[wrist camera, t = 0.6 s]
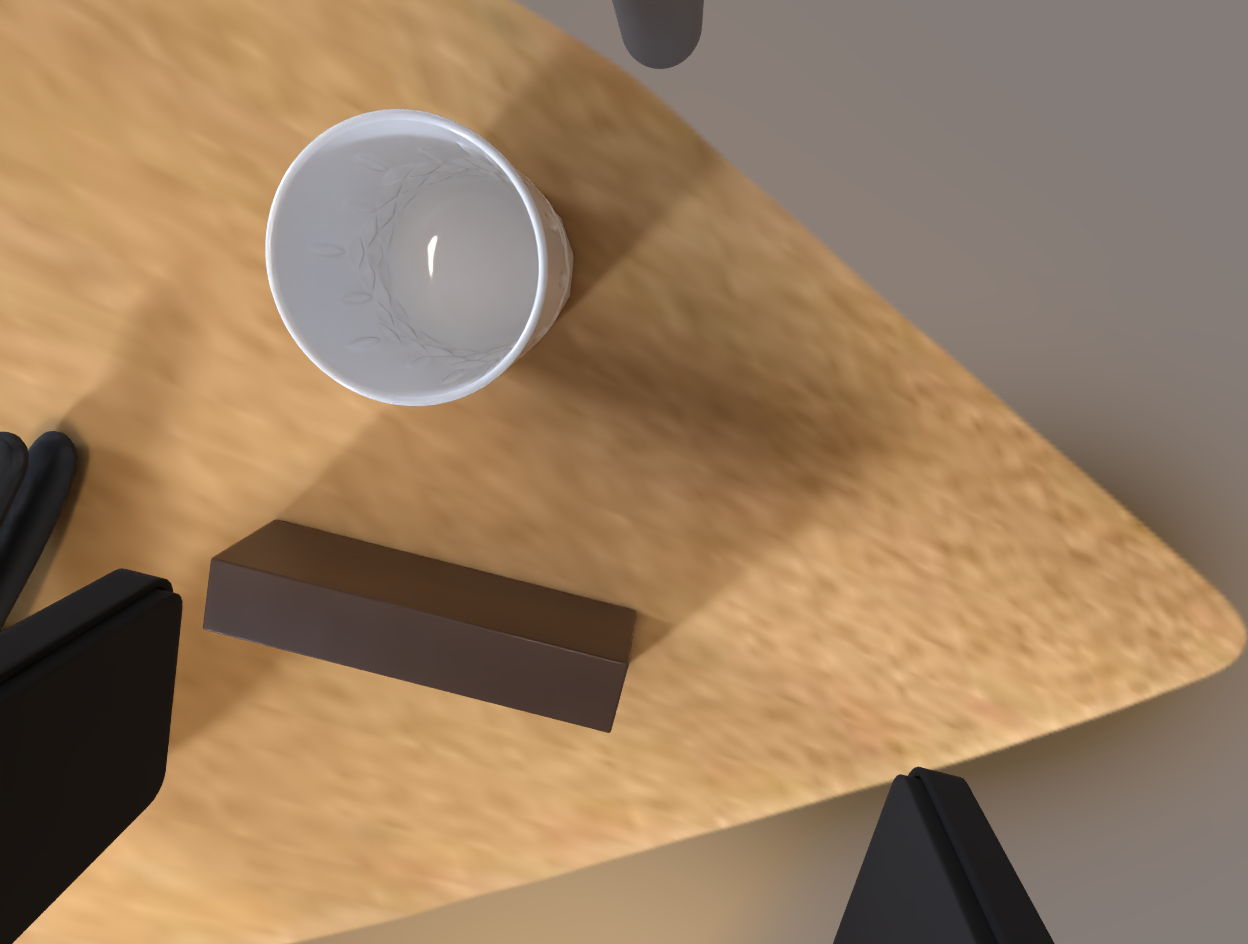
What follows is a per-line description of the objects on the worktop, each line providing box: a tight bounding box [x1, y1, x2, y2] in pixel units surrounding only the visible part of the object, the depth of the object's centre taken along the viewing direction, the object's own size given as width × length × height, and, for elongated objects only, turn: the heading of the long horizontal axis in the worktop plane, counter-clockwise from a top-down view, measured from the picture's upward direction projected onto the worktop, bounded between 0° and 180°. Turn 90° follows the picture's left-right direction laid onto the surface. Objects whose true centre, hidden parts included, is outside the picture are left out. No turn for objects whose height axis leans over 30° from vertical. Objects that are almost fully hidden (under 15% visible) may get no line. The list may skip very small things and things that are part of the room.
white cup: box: [266, 109, 574, 406], centre depth 27 cm, size 8×8×10 cm
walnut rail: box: [203, 520, 636, 733], centre depth 33 cm, size 3×16×5 cm, turn 76°
